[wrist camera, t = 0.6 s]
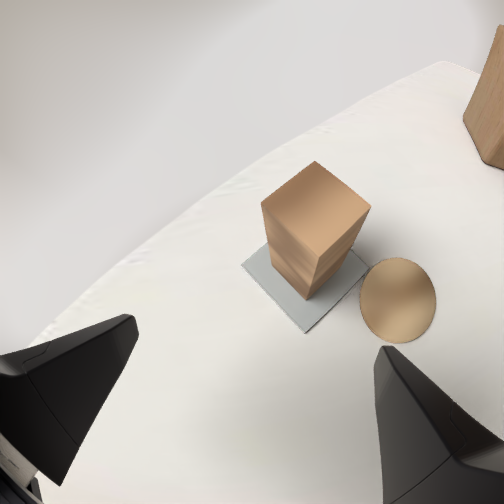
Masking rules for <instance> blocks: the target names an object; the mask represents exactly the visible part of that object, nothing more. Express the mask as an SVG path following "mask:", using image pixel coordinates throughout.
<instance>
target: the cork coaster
mask: <svg viewBox="0 0 504 504" xmlns="http://www.w3.org/2000/svg"><path fill="white" fill-rule="evenodd" d="M435 306H436V297H435V291H434V287H433V285H432V282H431V280H430V278H429V277H428V275H427V274H426V272H425V271H424V270H423V269H422V268H421V267H420V266H418V265H417V264H416V263H414V262H412V261H410V260H407V259H403V258H390V259H386V260H384V261H382V262H380V263H378V264H377V265H375V266H374V267H373V268H372V269H371V270H370V272H369V273H368V274H367V276H366V277H365V279H364V281H363V284H362V287H361V291H360V308H361V313H362V316H363V318H364V320H365V323H366V324H367V326H368V327H369V328H370V330H371V331H372V332H373V333H374V334H375V335H376V336H378V337H379V338H381V339H383V340H385V341H388V342H392V343H403V342H408V341H411V340H414V339H416V338H417V337H419V336H420V335H421V334H422V333H424V332H425V330H426V329H427V328H428V326H429V325H430V323H431V321H432V319H433V316H434V312H435Z"/></svg>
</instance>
